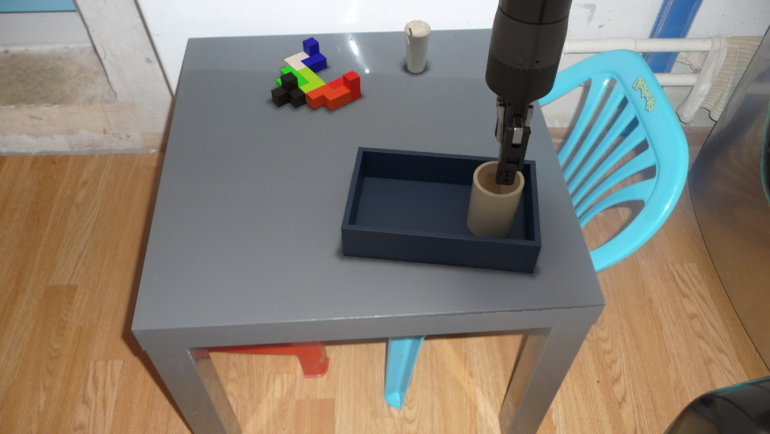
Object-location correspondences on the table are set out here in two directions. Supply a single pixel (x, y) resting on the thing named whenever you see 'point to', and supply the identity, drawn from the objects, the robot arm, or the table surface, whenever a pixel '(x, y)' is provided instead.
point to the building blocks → (313, 81)
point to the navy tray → (432, 212)
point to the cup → (493, 203)
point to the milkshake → (416, 45)
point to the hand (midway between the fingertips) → (503, 158)
